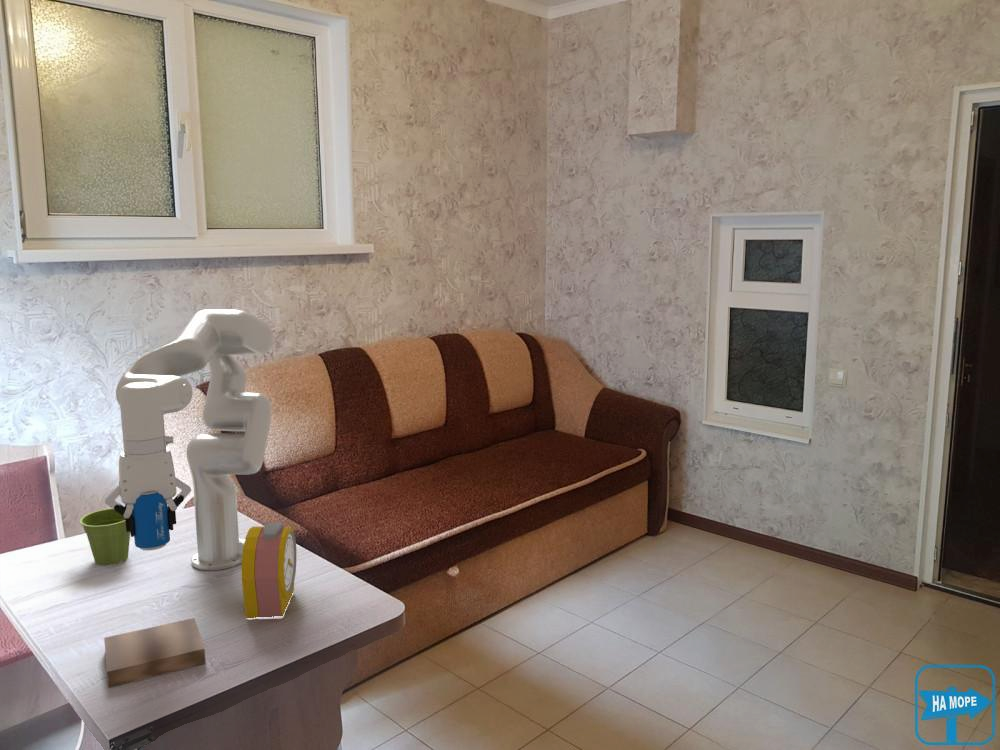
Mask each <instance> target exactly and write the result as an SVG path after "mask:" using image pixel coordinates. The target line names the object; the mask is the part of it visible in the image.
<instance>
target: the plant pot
mask: <svg viewBox="0 0 1000 750" xmlns="http://www.w3.org/2000/svg"><path fill="white" fill-rule="evenodd" d="M79 523H80V525H81V526H82V527H83V530H84V533H85V534H86V537H87V540H88V543H89V546H90V550H91V553H92V556H93V560H94V563H95V564H96V565H100V566H103V567H107V566H115V565H118V564H120V563H121V562H124V561H126V560H127V559H128V558H129V550H130V539H131V534H130V532H126V523H125V518H124V516H122V515H121V514H119V513H118V512H116V511H115V510H114V509H113V508H111V507H109V508H104V509H100V510H99V509H98V510H95V511H92V512H89V513H87V514H85V515H83V516H82V517H81V518H80V520H79Z"/></svg>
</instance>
